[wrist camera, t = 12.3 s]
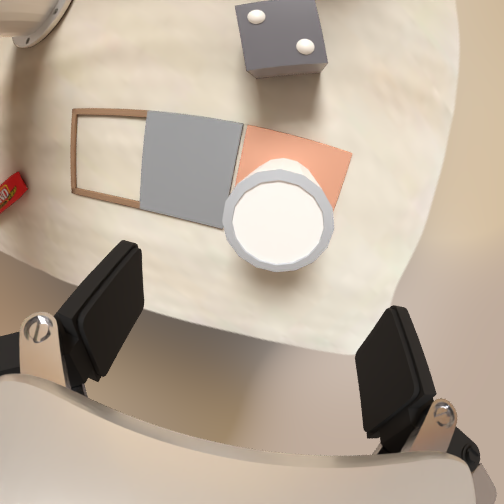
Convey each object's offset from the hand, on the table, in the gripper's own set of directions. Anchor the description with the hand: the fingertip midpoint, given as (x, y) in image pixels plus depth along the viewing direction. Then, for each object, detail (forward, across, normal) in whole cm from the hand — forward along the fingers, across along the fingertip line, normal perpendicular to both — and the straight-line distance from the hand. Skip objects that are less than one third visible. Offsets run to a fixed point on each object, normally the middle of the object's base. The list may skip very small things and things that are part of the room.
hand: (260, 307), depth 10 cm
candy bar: (+16, +39, +8) cm, 43 cm away
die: (+15, +2, -12) cm, 19 cm away
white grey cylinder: (+15, 0, 0) cm, 15 cm away
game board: (+15, +8, 0) cm, 17 cm away
